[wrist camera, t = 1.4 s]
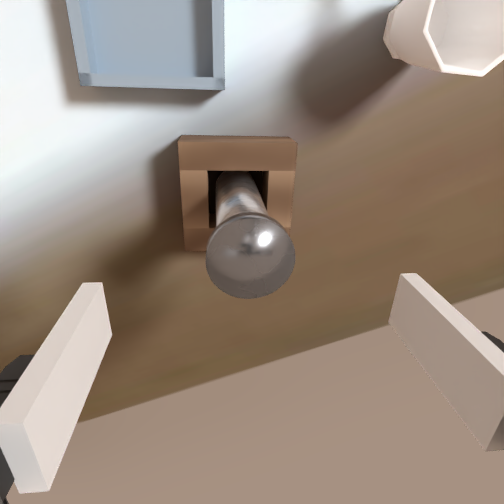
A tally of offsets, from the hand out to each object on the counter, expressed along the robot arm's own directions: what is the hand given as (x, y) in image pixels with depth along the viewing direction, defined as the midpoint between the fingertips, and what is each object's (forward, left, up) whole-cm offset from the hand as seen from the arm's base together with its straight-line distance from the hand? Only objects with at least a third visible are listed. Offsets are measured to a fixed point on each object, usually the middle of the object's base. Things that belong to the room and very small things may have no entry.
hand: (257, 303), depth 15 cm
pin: (0, 0, -18) cm, 18 cm away
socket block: (0, 0, -17) cm, 17 cm away
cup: (-14, +13, -18) cm, 26 cm away
